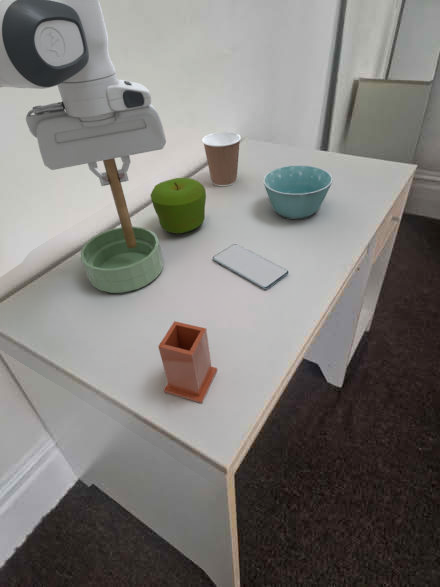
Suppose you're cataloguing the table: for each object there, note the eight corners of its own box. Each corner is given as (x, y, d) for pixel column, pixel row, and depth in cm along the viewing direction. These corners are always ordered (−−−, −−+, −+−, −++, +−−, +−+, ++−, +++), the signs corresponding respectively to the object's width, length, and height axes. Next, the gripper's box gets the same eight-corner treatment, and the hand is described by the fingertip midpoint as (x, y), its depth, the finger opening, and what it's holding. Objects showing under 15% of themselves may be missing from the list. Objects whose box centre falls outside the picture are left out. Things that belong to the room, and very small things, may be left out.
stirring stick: (125, 247, 75) (99, 159, 63) (130, 242, 76) (106, 154, 64) (133, 249, 74) (109, 160, 62) (138, 243, 75) (116, 155, 63)
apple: (191, 245, 82) (185, 198, 75) (146, 234, 87) (136, 189, 79) (217, 218, 90) (213, 174, 83) (175, 210, 95) (168, 167, 87)
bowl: (263, 227, 86) (264, 194, 80) (262, 196, 97) (262, 165, 92) (333, 226, 84) (338, 192, 79) (323, 194, 96) (326, 163, 90)
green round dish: (74, 287, 74) (63, 262, 70) (115, 245, 84) (109, 222, 80) (140, 301, 69) (133, 276, 65) (175, 255, 79) (171, 231, 76)
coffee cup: (227, 170, 111) (225, 129, 104) (249, 181, 105) (248, 137, 97) (199, 181, 107) (194, 138, 99) (220, 192, 101) (216, 148, 93)
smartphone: (266, 288, 68) (211, 257, 77) (266, 291, 69) (211, 259, 77) (290, 271, 72) (235, 243, 80) (289, 273, 72) (235, 245, 81)
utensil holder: (164, 392, 54) (151, 348, 47) (181, 360, 58) (172, 317, 51) (202, 403, 52) (194, 360, 45) (217, 370, 56) (212, 326, 50)
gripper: (19, 113, 53) (54, 202, 62) (159, 91, 57) (173, 177, 66) (22, 103, 57) (54, 187, 66) (152, 83, 61) (165, 165, 70)
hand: (115, 182), depth 66 cm, fingers closed on stirring stick, 2 cm apart
